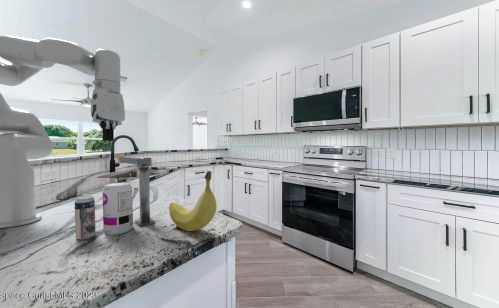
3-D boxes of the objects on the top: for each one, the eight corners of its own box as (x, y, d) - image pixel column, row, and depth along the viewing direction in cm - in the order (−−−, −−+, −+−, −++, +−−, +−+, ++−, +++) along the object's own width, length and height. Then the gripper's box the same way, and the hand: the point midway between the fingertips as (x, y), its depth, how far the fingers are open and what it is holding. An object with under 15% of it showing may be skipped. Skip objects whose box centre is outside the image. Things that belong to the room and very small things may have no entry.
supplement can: (102, 237, 66) (100, 187, 65) (105, 228, 73) (104, 183, 73) (133, 232, 70) (132, 185, 69) (133, 224, 77) (132, 181, 76)
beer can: (85, 241, 63) (83, 199, 63) (71, 239, 64) (70, 198, 64) (99, 234, 68) (98, 195, 67) (86, 233, 69) (85, 195, 68)
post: (135, 223, 78) (134, 167, 77) (149, 219, 82) (148, 166, 81) (140, 226, 74) (139, 168, 74) (155, 223, 78) (154, 167, 77)
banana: (163, 224, 77) (162, 167, 76) (178, 220, 81) (177, 165, 80) (205, 243, 62) (205, 172, 61) (221, 236, 67) (220, 170, 66)
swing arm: (153, 166, 77) (153, 157, 77) (139, 167, 74) (139, 157, 74) (127, 162, 96) (126, 155, 96) (114, 163, 92) (114, 155, 92)
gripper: (96, 81, 69) (97, 140, 70) (133, 92, 83) (133, 141, 84) (78, 82, 71) (78, 140, 71) (116, 93, 85) (117, 141, 86)
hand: (108, 140), depth 78 cm, fingers closed
